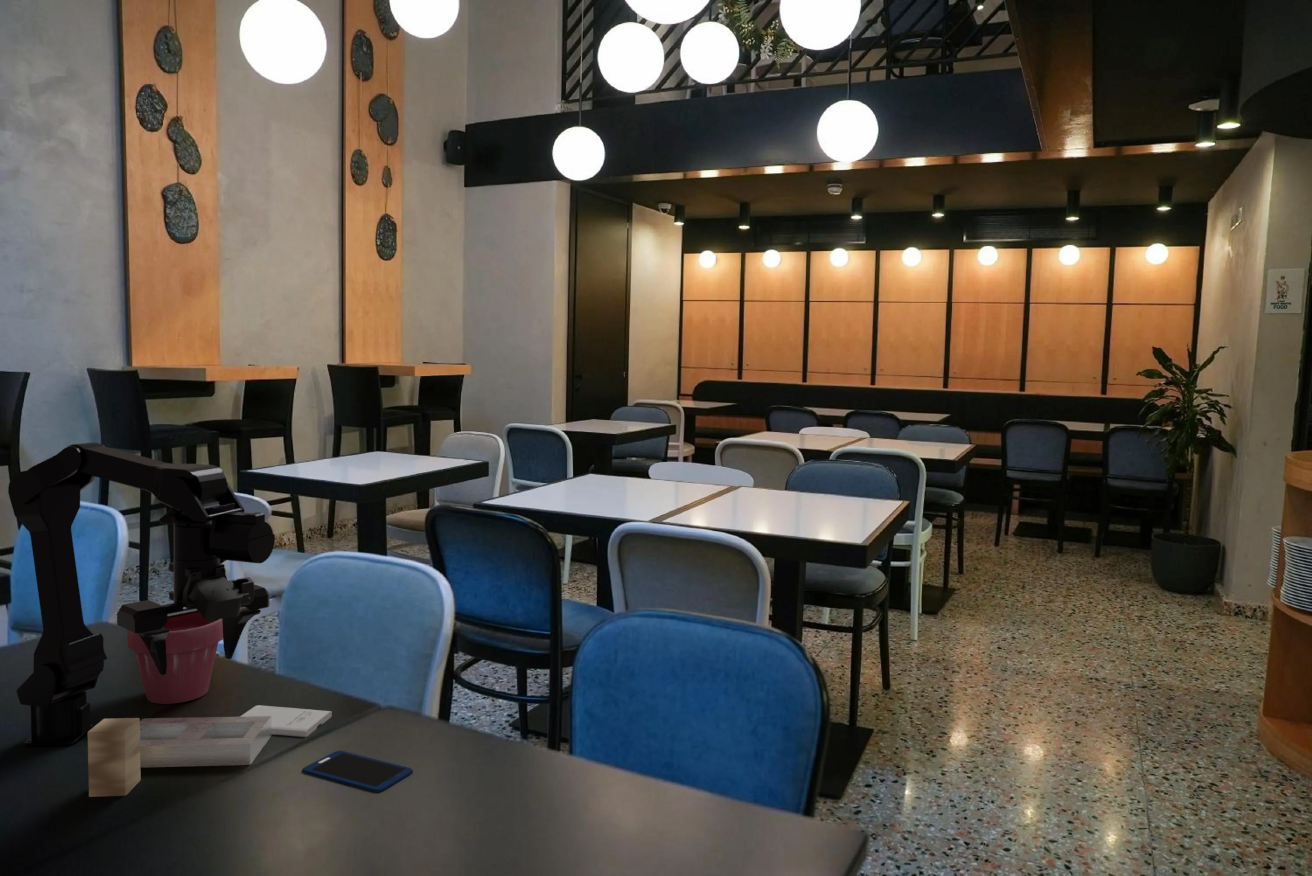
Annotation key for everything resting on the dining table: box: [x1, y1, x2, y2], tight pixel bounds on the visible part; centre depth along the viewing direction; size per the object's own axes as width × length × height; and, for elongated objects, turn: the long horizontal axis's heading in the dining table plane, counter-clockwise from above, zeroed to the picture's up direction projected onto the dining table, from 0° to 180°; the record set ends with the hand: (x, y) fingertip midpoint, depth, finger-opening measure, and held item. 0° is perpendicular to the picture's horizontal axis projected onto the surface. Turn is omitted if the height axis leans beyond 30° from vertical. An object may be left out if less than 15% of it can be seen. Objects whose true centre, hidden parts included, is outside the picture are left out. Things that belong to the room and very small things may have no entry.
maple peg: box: [87, 717, 142, 798], centre depth 119 cm, size 4×4×8 cm
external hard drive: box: [239, 704, 333, 738], centre depth 142 cm, size 2×8×12 cm
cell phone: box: [301, 750, 414, 794], centre depth 126 cm, size 7×14×1 cm, turn 66°
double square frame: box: [140, 716, 272, 769], centre depth 131 cm, size 18×10×3 cm, turn 97°
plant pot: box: [126, 612, 223, 705], centre depth 152 cm, size 14×14×13 cm
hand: (196, 666), depth 128 cm, fingers open, 9 cm apart
